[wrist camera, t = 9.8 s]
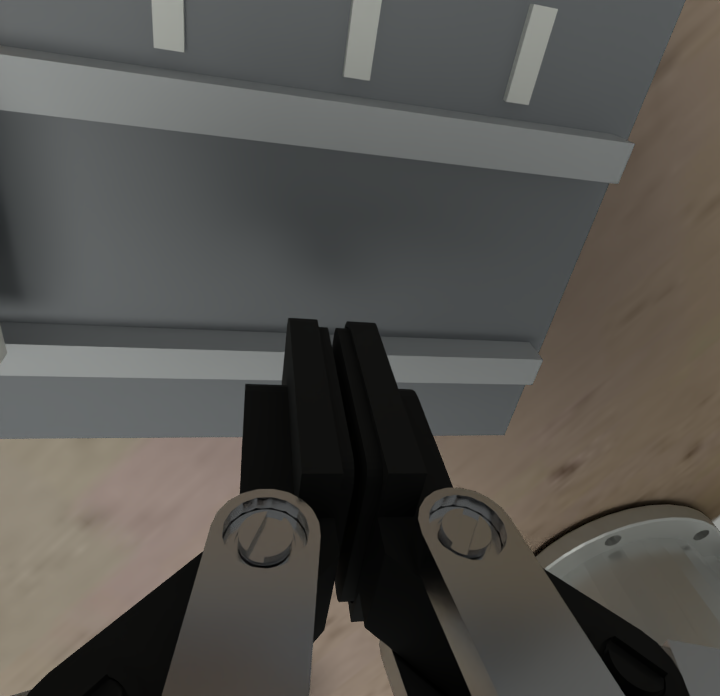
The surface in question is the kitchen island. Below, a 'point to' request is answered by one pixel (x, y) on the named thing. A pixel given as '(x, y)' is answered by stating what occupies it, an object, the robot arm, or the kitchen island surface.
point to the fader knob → (2, 347)
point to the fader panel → (298, 195)
